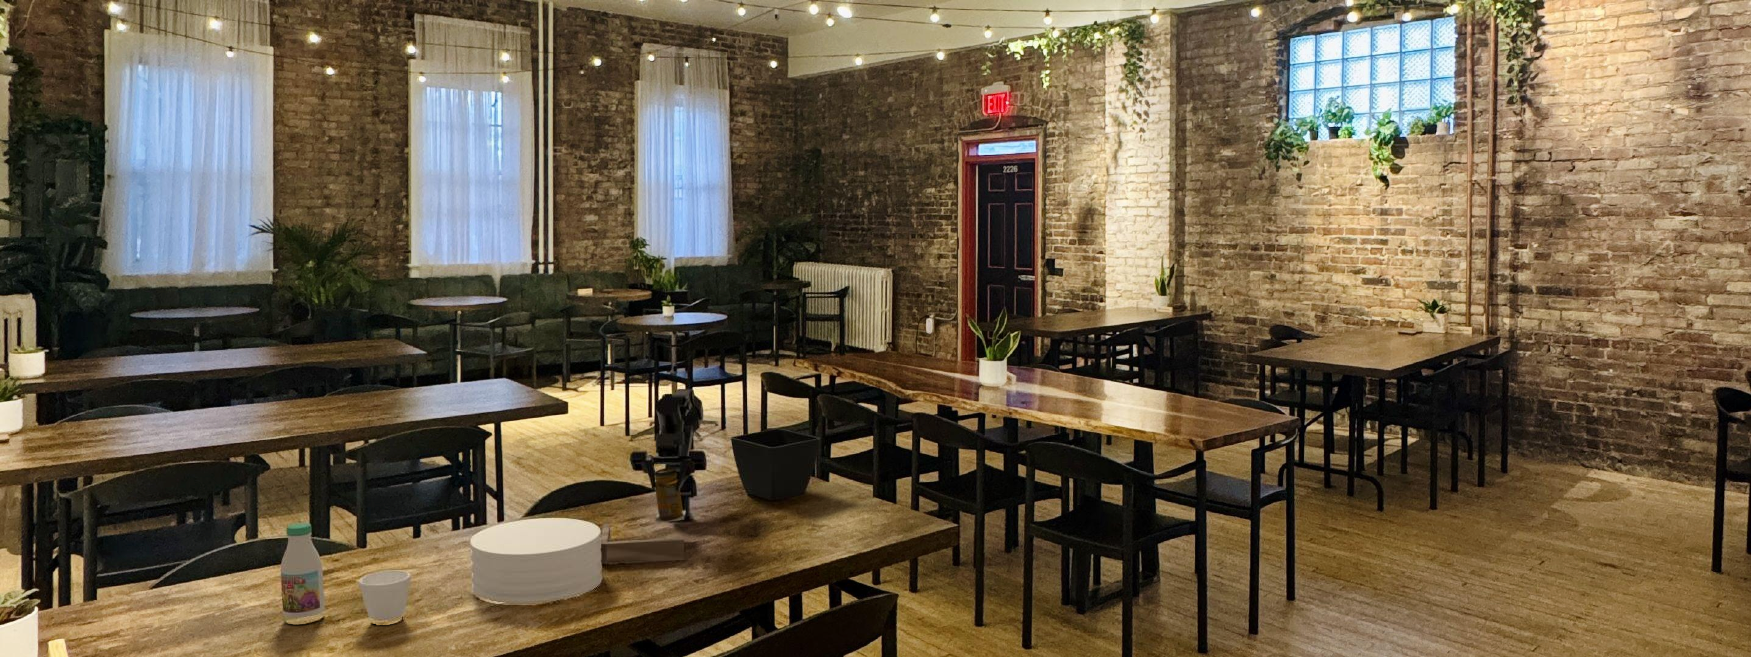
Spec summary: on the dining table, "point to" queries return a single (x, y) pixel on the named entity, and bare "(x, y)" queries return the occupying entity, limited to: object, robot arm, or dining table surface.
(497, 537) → the plate stack
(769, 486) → the flower pot
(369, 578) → the cup
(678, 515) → the condiment
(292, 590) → the milk bottle
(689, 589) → the dining table surface
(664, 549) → the corner arena
